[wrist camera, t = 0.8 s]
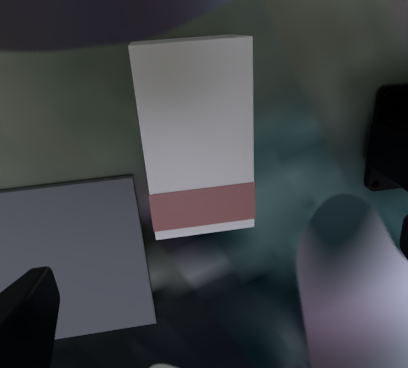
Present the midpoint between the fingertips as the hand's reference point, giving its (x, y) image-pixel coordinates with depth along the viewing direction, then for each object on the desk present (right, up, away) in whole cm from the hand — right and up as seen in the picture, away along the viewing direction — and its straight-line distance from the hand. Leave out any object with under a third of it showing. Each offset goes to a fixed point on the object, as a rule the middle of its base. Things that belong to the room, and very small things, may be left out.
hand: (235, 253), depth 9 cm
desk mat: (-11, -4, +13) cm, 17 cm away
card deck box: (-2, +5, +11) cm, 12 cm away
